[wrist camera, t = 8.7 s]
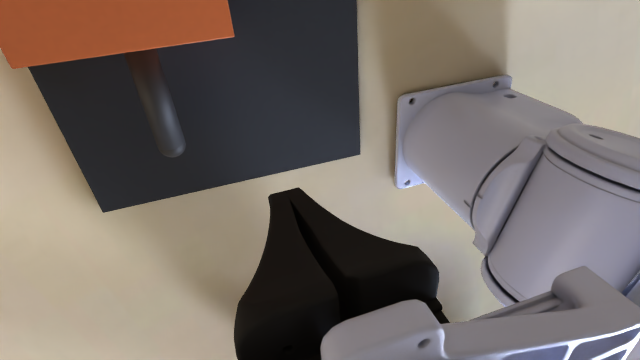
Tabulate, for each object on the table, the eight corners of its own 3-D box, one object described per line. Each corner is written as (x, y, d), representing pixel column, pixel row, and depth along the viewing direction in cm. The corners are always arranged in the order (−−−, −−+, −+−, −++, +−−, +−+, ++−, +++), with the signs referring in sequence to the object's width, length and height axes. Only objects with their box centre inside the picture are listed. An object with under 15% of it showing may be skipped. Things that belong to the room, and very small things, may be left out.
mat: (346, -296, 16) (349, -302, 15) (358, 152, 28) (360, 154, 27) (-166, -319, 12) (-176, -327, 12) (104, 209, 24) (102, 213, 24)
